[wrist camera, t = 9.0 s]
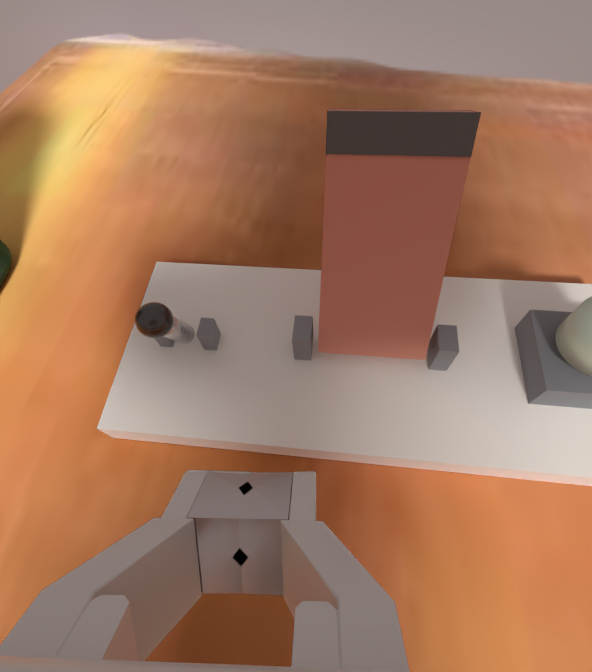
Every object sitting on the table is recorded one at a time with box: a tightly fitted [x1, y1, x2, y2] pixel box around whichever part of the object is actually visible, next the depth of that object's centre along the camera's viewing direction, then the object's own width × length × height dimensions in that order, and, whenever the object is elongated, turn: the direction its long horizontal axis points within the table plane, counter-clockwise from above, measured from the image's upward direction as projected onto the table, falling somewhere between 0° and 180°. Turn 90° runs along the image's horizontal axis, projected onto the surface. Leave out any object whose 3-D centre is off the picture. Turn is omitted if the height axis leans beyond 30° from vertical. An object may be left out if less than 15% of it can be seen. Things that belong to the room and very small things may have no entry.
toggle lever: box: [135, 302, 195, 344], centre depth 21 cm, size 2×2×5 cm
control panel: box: [97, 262, 592, 486], centre depth 23 cm, size 12×30×4 cm, turn 84°
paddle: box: [318, 109, 481, 360], centre depth 20 cm, size 2×6×12 cm, turn 85°
